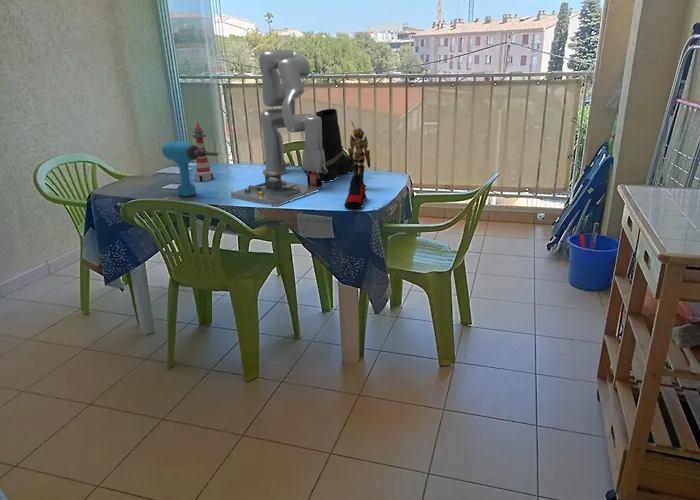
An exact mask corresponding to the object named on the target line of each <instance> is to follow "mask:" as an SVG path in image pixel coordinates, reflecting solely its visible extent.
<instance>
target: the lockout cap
mask: <svg viewBox="0 0 700 500" xmlns="http://www.w3.org/2000/svg"><path fill="white" fill-rule="evenodd" d="M317 178H318V177H317V172H312V173H310V185H311V186H317Z"/></svg>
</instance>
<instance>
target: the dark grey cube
mask: <svg viewBox="0 0 700 500" xmlns="http://www.w3.org/2000/svg"><path fill="white" fill-rule="evenodd" d="M268 173H269V174H264V182H265V181H266V180H269V178H277V179H280V180H282V176H281V175H282V174H278V173H274V172H268Z"/></svg>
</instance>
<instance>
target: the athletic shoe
mask: <svg viewBox="0 0 700 500" xmlns="http://www.w3.org/2000/svg"><path fill="white" fill-rule="evenodd" d="M349 183H350V184H349V188H348V190H347V192H348V193H347V196H346V198H345V202H344V207H345V206H348V207H347V208H349V207H361V206H362V205H363V206H364V201H363V200H364V199H365V198H366V199H367V194H366V189H365V185H366V184H365V182H364V178H363V179H362V178H361V175H360V174H359V173H358V174H355V175H353V174H352V177H351V181H350V182H349ZM366 199H365V200H366ZM361 208H362V207H361Z"/></svg>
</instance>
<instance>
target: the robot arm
mask: <svg viewBox="0 0 700 500" xmlns="http://www.w3.org/2000/svg"><path fill="white" fill-rule="evenodd" d="M258 64H259V65H258V66H259V69H260V73H261V77H262V79H261V80H262V81H261V82H262V83H261V85H262V102H263V104H264V106H266V107H280V108H269V109H264V110H263V111H262V112H260V115H259V121H260V126H261V130H262V139H263V149H264V162H265V163H264V164H265V169H263V171H262V174H263V175H266V174H269V173H268V172H274V173H278V174H281V175H285V174H287V173H289V169H287V167H290V166H291V162H285V156H284V155H285V153H284V139H283V135H282V134H281V132H280V131H279V129H285V128H286V129H287V131H289V132H290V133H301V132H304V141H303V145H305V146H304V147H303V152H302V164H301V165H302V166H301V169H302V170H303V172H304V174H305V176H306V179H307V185H310V173H312V172H317V177H318V178H317V187H319V188H321V187H323V182H322V178H323V176H324V175H325V174H326V173H328V170H327V169H326V167H325V155H324V150H323V148H322V120H321V118H320V117H319V116H316V114H313V113H299V114H296V99H298V98H300V97H301V96H302V95H304V93H305V88H304V83H303V82H302V78H307V77H308V76H309V75H310V73H311V67H310V66H311V65H310V63H309V61H308V60H307V58H306V57H305V56H303V55H302V54H301V53H299V52H297V51H296V50H294V49H268V50H264V51H262V52H261V53H260V54H259V57H258ZM281 83H282V85H281ZM322 171H323V172H322Z"/></svg>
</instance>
